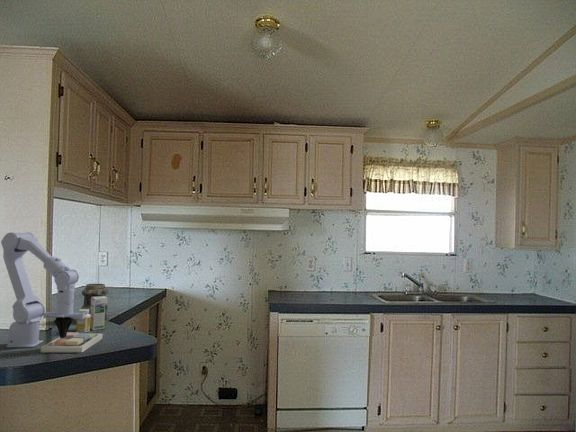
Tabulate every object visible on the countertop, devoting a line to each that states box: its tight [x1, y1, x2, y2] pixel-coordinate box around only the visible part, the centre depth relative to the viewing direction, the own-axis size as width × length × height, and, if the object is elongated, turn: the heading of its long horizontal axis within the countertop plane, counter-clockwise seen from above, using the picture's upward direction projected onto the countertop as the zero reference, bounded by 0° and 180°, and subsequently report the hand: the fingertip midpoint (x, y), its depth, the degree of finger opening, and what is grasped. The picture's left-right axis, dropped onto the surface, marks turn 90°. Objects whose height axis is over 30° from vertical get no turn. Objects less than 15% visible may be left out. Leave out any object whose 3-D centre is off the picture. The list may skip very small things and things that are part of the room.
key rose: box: [62, 331, 79, 339], centre depth 152 cm, size 4×4×2 cm
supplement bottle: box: [75, 308, 91, 333], centre depth 169 cm, size 5×5×10 cm
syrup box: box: [90, 295, 109, 331], centre depth 175 cm, size 6×6×14 cm
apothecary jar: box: [80, 283, 109, 314], centre depth 190 cm, size 12×12×18 cm
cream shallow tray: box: [40, 332, 104, 354], centre depth 149 cm, size 14×19×2 cm
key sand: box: [66, 338, 83, 345], centre depth 144 cm, size 4×4×2 cm
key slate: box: [73, 333, 91, 341], centre depth 149 cm, size 4×4×2 cm
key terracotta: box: [54, 339, 69, 346], centre depth 146 cm, size 4×4×2 cm
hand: (63, 337), depth 146 cm, fingers closed
